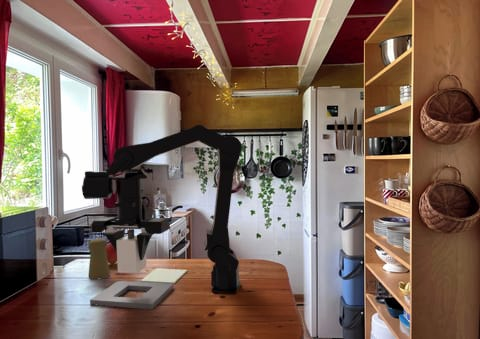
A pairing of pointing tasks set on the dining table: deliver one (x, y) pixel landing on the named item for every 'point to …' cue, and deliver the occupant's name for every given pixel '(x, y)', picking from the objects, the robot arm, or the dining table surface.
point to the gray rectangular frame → (145, 302)
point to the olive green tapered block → (98, 259)
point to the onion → (111, 254)
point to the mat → (164, 276)
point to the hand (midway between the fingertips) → (132, 259)
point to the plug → (129, 254)
